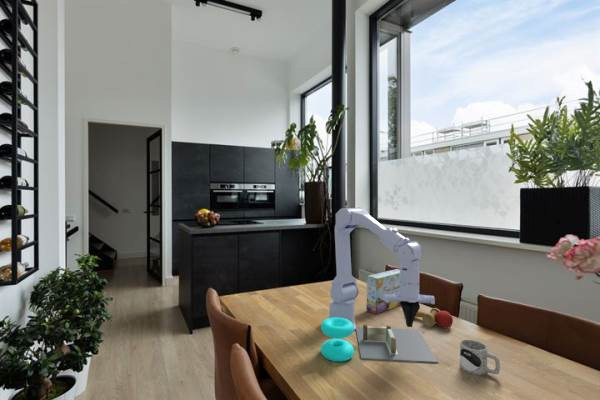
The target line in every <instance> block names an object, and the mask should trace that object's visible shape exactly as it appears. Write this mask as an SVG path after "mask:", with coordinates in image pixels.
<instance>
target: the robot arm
mask: <svg viewBox="0 0 600 400" xmlns="http://www.w3.org/2000/svg"><path fill="white" fill-rule="evenodd" d="M358 226H363V227H364V228H365V229H368V230H369V231H370V232H372V233H373V234H375V235H377V236H378V237H379V238H380V239H379V240H380V243H382V244H383V245H384V246H386V247H387V248H388V249H390V250H391V251H392V252H393V253H395V255H396V258H397V260H398V264H399V270H400V293H399V294H385V302H399V303H400V305H401V306H400V307H401V309H402V312H403V315H404V320H405V324H406V327H407V328H413V324H414V321H415V318H416V317H415V316H416V313H417V312H418V311H420V308H421V305H420V304H431V305H435V302H436V298H435V296H434V295H429V294H428V295H427V294H420V260H421V258H423V256H424V249H423V247H422V245H421V244H420V243H419V242H418V241H414V240H413V241H411V240H410V238H408V237H405V236H403V235H402V234H400V233H399V232H398V231H399V230H398V229H397V228H391V227H389V228H386V227H385V226H384V225H383V224H381V223H380V222H379V221H378V220H376V219H375V218H374V217H372V215H370V213H369V212H368V211H367V210H366V209H364V208H362V207H349V208H347V207H342V208H339V210H338V211H337V212H336V213H335V225H334V243H335V247H334V248H335V264H336V265H335V266H336V268H335V269H336V276H335V277H334V279H333V280H332V281H331V286H330V287H331V288H330V292H329V293H330V298H331V299H332V300H330V301H329V316H328V318H334V317H338V318H344V319H347V320H349V321H351V322H352V323H353V325H354V331H356V327H357V326H356V320H355V302H356V298H358V297H359V292H360V291H359V287H358V284H357V279H356V277H354V276H353V273H352V256H351V254H352V253H351V237H350V235H351V232H352V231H353V230H354V229H355V228H357V227H358Z"/></svg>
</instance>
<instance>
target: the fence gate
mask: <svg viewBox="0 0 600 400" xmlns="http://www.w3.org/2000/svg"><path fill="white" fill-rule="evenodd" d="M391 329H392V328H391ZM391 329H387V341H388V344H389V347H390V350H391V353H393V354H395V353H396V338H395V337H394V334H393V332H392V330H391Z"/></svg>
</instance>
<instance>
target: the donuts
mask: <svg viewBox="0 0 600 400" xmlns="http://www.w3.org/2000/svg"><path fill="white" fill-rule="evenodd" d="M320 330H321V331H322V333H323V335H325V336H327V337H330V339H327V340H326V341H324V342H323V343H322V344H321V346H320V347H321V348H320V352H321V355H322V356H323V357H324V358H325V359H327V360H328V361H332V362H346V361H349V360H350V359H352V357H353V356H354V354H355V349H354V347H353V345H352V344H351V342H349V341H347V340H345V338H348V337H350V336H351V335H352V334H353V333H354V331H355V330H354V325H353V323H352V322H351V321H349V320H347V319H344V318H338V317H334V318H329V317H328V318H325V319H324V320H323V321H321V324H320ZM331 338H332V339H331Z"/></svg>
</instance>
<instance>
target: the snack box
mask: <svg viewBox="0 0 600 400" xmlns="http://www.w3.org/2000/svg"><path fill="white" fill-rule="evenodd" d="M366 277H367V278H366V310H365V311H366V312H369V313H371V314H374V315H378V314H380V313H383V312H386V311H390V310H391V309H395V308H397V307H401V305H400V303H399V302H385V294H399V293H400V268H399V269H398V268H397V269H390V270H386V271H383V272H379V273H374V274H369V275H367V276H366Z"/></svg>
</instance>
